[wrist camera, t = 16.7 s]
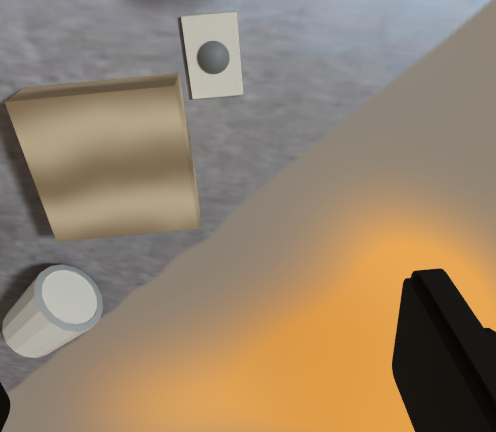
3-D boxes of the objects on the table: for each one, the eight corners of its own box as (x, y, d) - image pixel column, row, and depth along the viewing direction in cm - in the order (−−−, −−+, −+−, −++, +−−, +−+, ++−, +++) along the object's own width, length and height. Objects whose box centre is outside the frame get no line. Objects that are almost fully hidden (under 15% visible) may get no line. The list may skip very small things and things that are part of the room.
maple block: (25, 86, 35) (4, 102, 31) (179, 71, 35) (174, 85, 31) (70, 216, 41) (56, 241, 38) (200, 204, 41) (198, 228, 38)
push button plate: (181, 16, 32) (180, 16, 32) (236, 11, 32) (236, 11, 32) (192, 98, 35) (192, 99, 35) (243, 93, 35) (243, 95, 35)
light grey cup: (57, 298, 48) (95, 266, 45) (70, 360, 45) (111, 329, 42) (-10, 298, 43) (28, 261, 40) (0, 368, 40) (41, 333, 37)
